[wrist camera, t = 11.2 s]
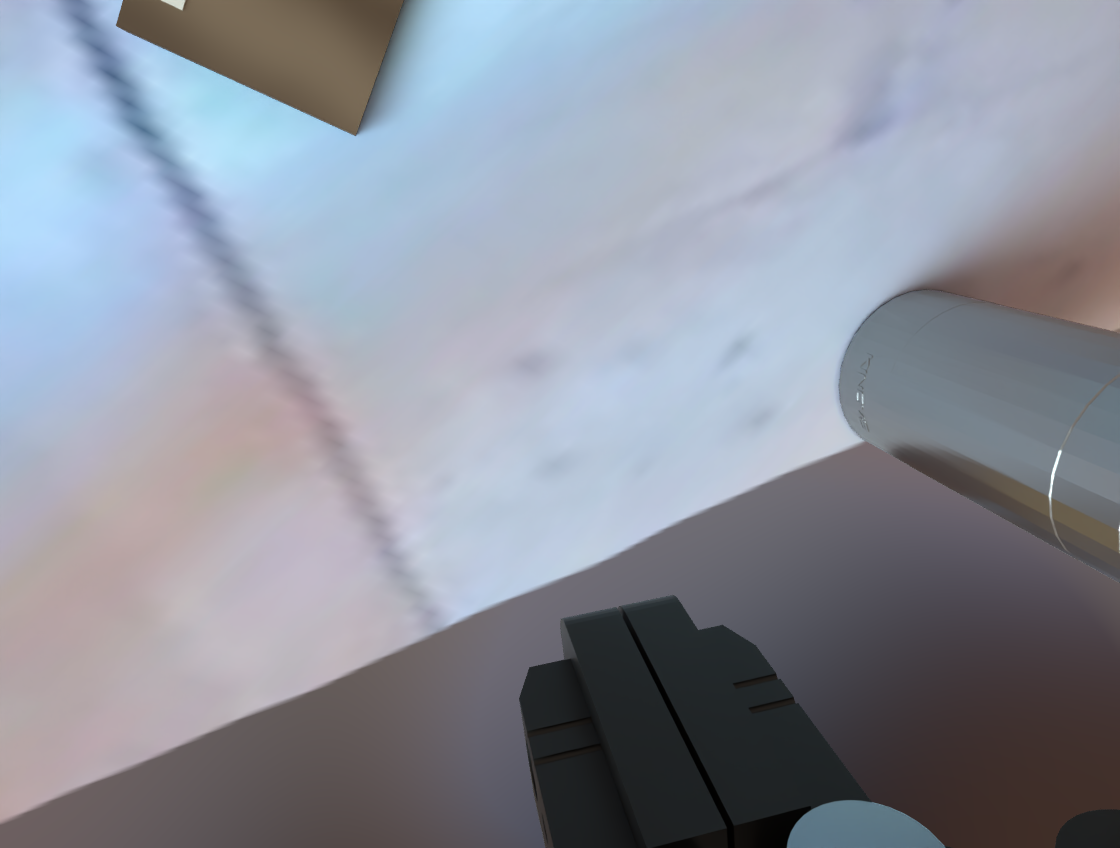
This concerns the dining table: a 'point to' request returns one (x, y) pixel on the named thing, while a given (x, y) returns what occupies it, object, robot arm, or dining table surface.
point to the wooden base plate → (279, 46)
